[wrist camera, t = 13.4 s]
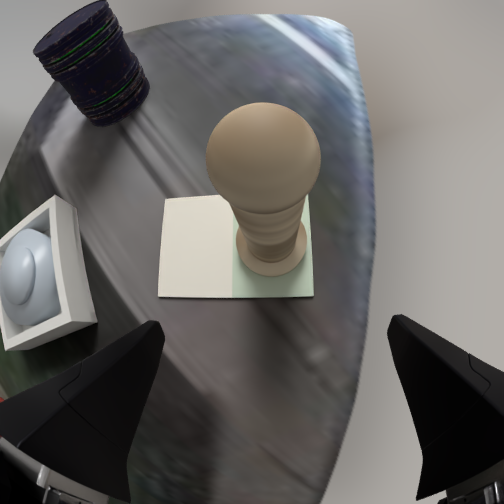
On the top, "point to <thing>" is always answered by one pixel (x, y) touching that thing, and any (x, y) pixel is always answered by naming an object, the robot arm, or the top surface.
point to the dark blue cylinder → (94, 64)
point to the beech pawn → (265, 182)
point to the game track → (219, 255)
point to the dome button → (29, 279)
